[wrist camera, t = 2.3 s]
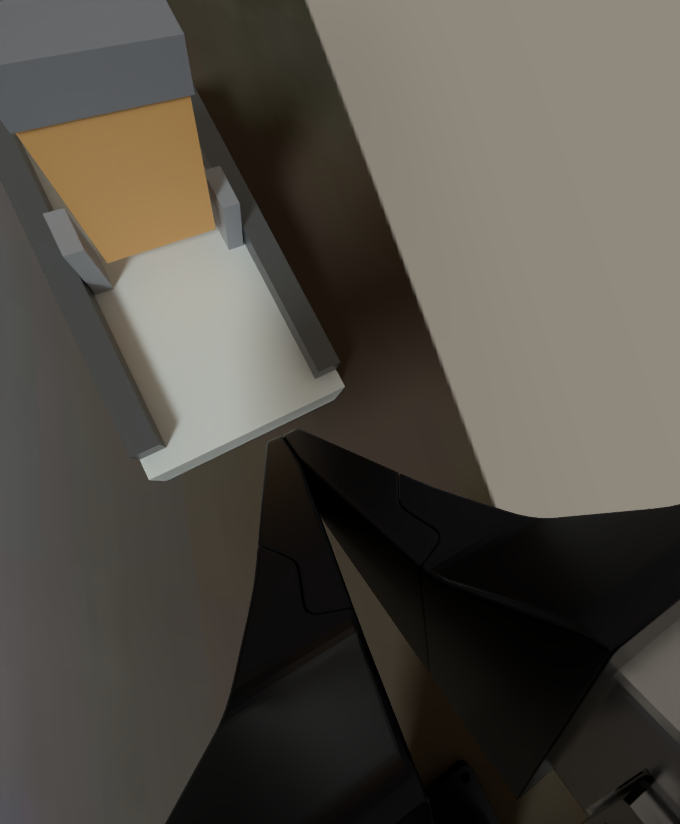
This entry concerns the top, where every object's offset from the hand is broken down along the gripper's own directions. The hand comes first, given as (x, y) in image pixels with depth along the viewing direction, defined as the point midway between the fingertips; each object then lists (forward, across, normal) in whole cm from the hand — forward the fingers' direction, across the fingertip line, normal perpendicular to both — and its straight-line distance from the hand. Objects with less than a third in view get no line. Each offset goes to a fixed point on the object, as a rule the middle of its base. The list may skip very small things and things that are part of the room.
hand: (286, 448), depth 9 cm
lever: (+14, +1, -4) cm, 14 cm away
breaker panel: (+17, +1, -1) cm, 17 cm away
